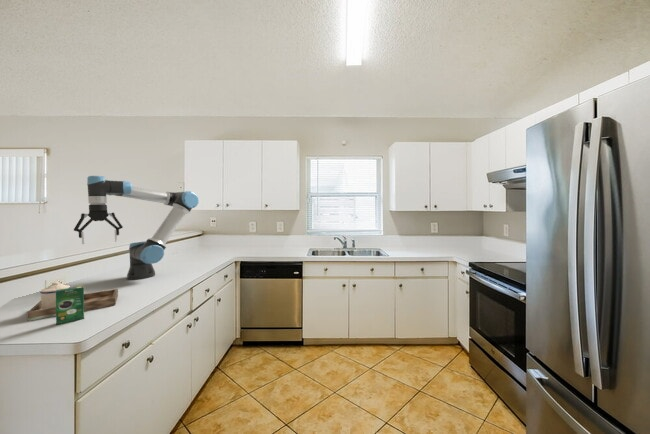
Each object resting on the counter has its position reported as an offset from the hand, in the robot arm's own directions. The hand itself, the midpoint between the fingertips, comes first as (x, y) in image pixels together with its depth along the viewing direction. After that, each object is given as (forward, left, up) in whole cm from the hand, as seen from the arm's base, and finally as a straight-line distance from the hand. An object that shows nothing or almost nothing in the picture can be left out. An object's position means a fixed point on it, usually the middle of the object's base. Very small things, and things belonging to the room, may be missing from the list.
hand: (100, 242), depth 141 cm
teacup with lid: (+12, +27, -26) cm, 39 cm away
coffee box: (+5, +46, -27) cm, 54 cm away
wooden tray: (+6, +27, -26) cm, 38 cm away
